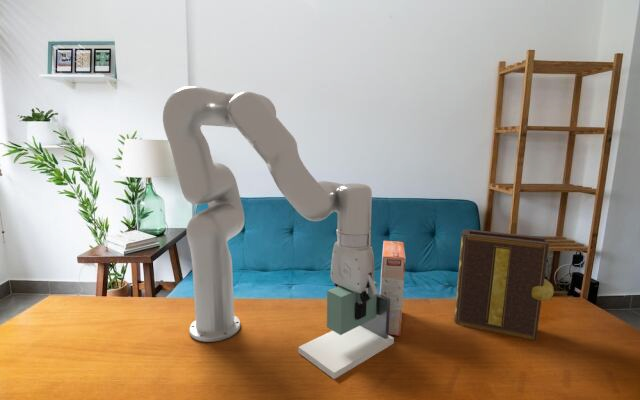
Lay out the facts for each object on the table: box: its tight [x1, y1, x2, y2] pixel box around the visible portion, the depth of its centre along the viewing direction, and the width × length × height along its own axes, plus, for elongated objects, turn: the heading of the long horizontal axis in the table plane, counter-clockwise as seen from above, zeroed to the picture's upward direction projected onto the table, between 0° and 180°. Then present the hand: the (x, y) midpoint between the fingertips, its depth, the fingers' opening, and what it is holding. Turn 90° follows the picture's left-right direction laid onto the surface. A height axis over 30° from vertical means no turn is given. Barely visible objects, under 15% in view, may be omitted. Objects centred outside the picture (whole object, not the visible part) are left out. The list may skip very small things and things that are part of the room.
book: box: [453, 229, 555, 341], centre depth 93 cm, size 22×8×25 cm, turn 68°
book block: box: [326, 280, 378, 335], centre depth 84 cm, size 4×12×9 cm, turn 131°
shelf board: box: [297, 326, 395, 380], centre depth 85 cm, size 12×20×2 cm, turn 131°
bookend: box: [360, 293, 390, 339], centre depth 90 cm, size 10×1×10 cm, turn 41°
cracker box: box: [379, 240, 406, 337], centre depth 96 cm, size 14×6×21 cm, turn 169°
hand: (352, 312), depth 85 cm, fingers closed on book block, 4 cm apart
